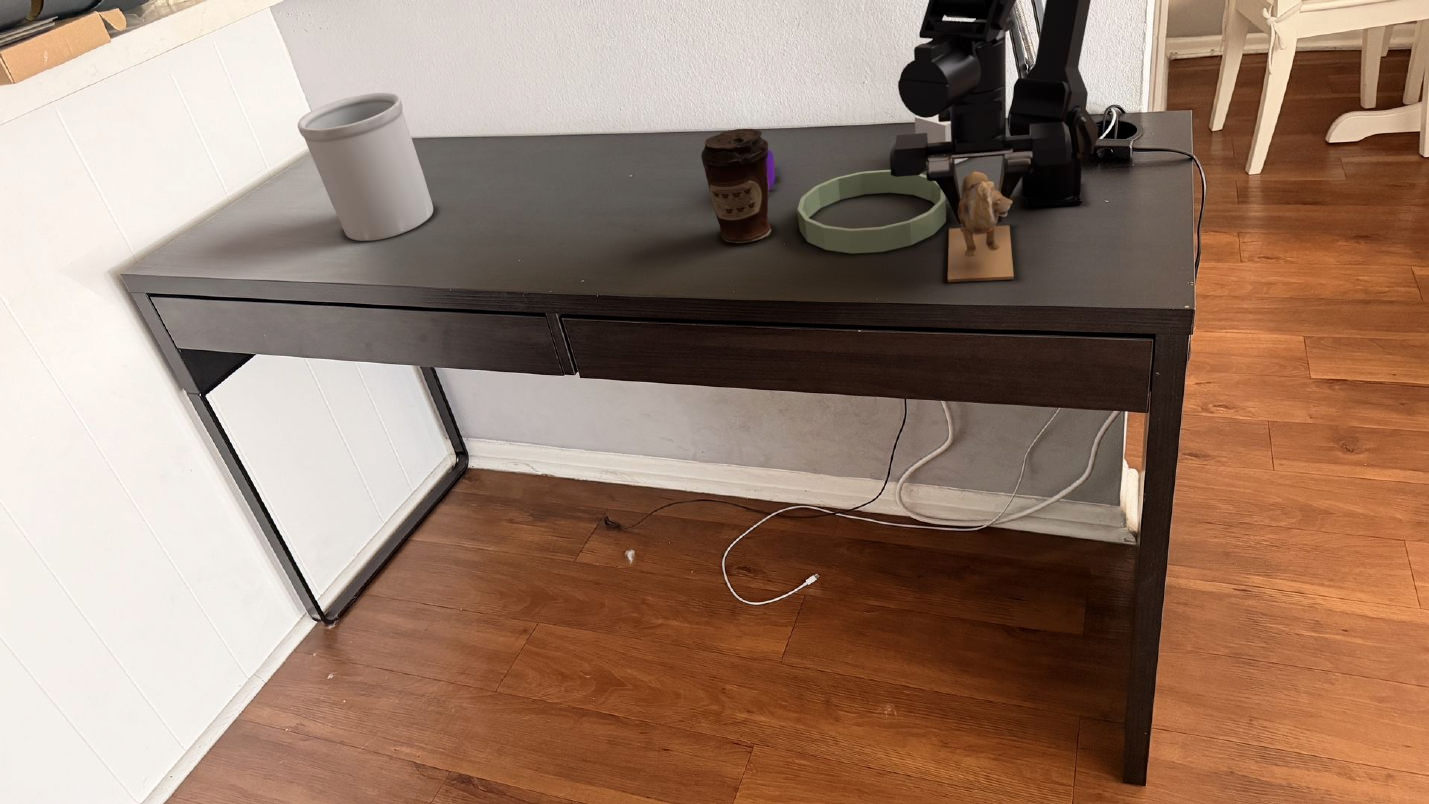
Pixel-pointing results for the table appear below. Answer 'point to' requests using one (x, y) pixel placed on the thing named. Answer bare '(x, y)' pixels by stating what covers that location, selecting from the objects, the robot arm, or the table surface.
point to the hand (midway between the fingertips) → (979, 221)
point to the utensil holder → (368, 165)
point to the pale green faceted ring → (877, 236)
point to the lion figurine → (980, 210)
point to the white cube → (934, 130)
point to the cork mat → (980, 257)
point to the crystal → (770, 169)
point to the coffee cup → (738, 183)
